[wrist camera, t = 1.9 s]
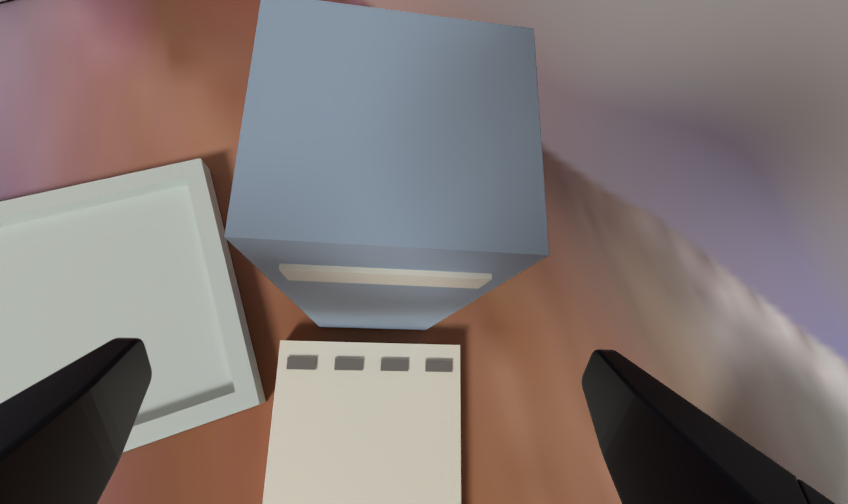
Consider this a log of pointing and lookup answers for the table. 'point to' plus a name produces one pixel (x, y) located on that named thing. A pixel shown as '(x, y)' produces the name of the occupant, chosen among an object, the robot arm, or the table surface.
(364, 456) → the board
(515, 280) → the table surface
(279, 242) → the blue tall block
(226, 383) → the tray
